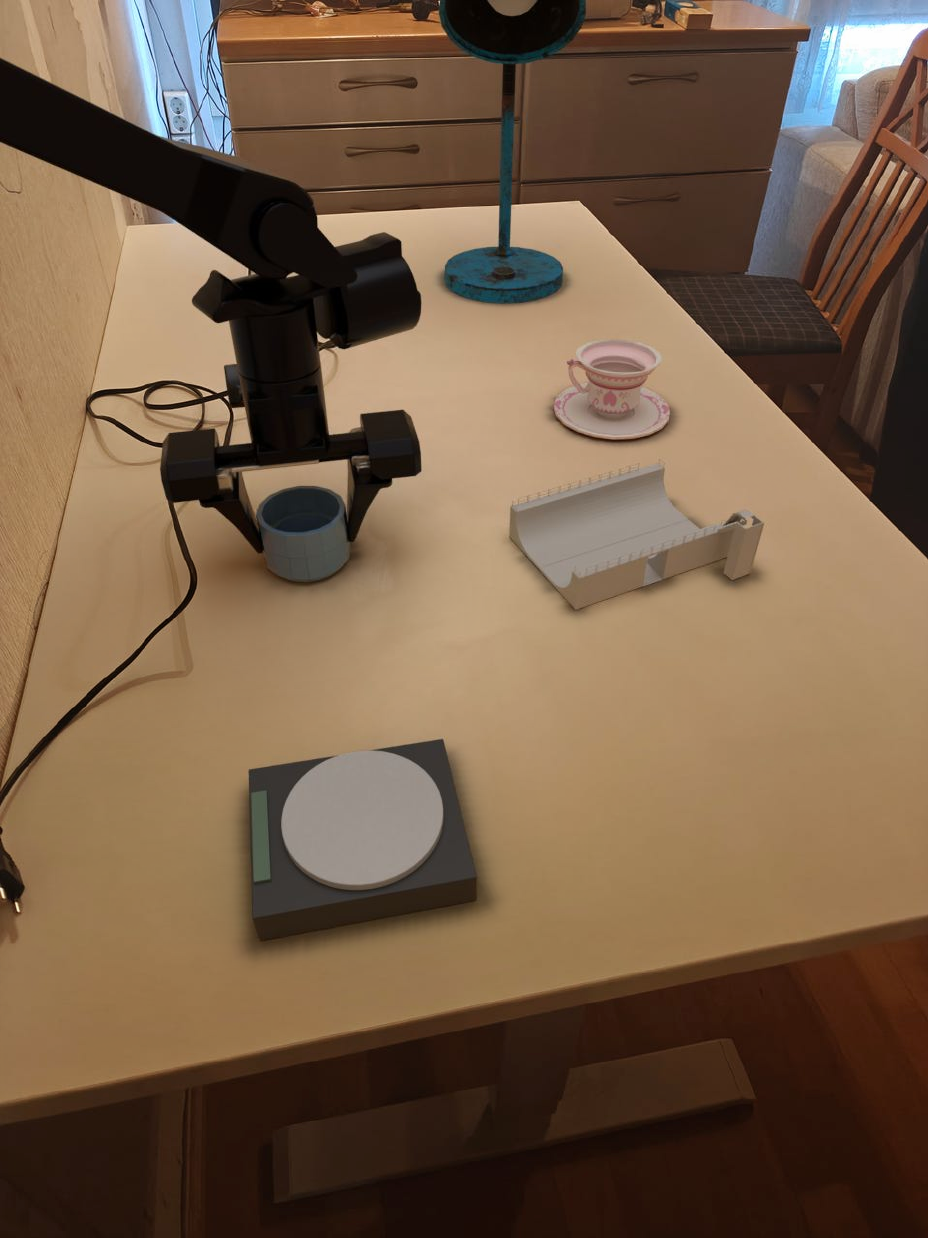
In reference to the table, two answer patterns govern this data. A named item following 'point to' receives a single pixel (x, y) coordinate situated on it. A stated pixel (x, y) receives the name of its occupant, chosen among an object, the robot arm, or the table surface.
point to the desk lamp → (508, 134)
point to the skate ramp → (623, 536)
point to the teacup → (613, 392)
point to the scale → (356, 839)
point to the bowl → (304, 533)
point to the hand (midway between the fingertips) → (306, 544)
